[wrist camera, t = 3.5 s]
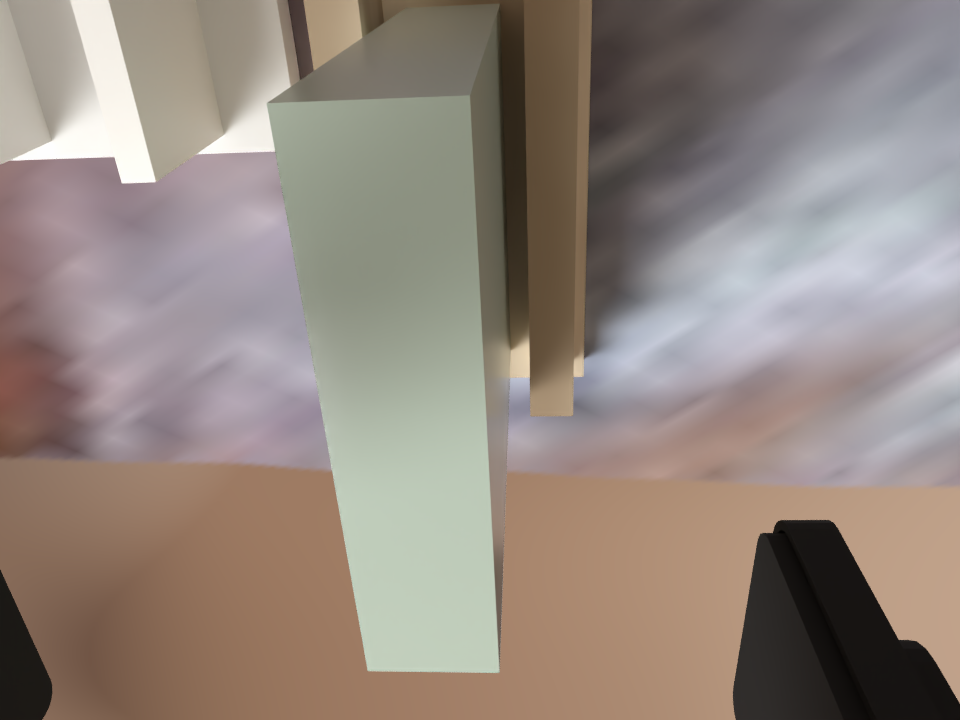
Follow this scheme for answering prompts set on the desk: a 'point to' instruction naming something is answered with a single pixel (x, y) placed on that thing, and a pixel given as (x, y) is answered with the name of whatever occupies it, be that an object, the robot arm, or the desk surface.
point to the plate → (410, 321)
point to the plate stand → (523, 171)
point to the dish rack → (141, 79)
